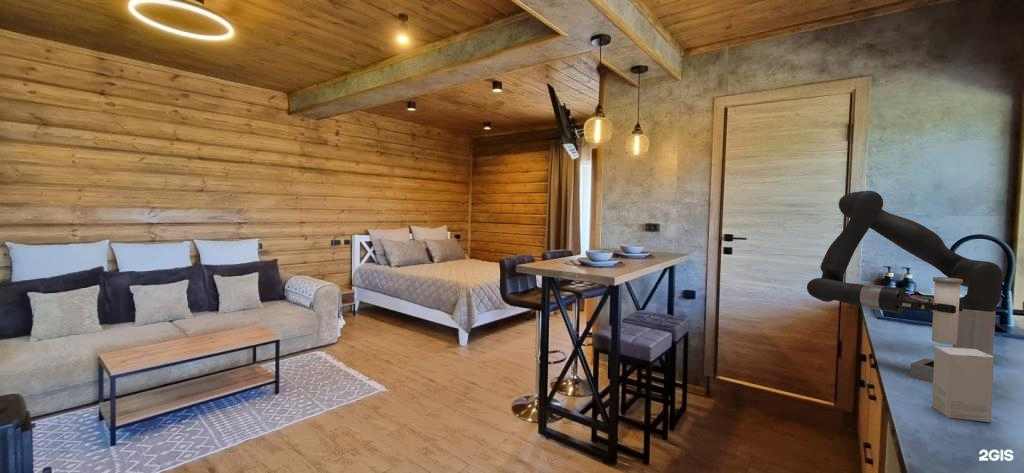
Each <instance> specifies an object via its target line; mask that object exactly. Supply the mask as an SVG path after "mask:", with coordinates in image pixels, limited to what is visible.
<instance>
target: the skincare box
mask: <svg viewBox="0 0 1024 473" xmlns="http://www.w3.org/2000/svg"><path fill="white" fill-rule="evenodd" d="M933 353H934V359H933V360H934V375H933V384H932V401H931V403H932V404H931V407H932V408H933V409H935V410H936V411H938V412H939V413H940V414H941V415H943V416H945V417H946V418H948V419H957V420H965V421H966V420H967V421H976V422H985V423H991V422H992V408H993V385H994V370H995V369H994V367H995V359H996V357H995V356H994V355H993V356H991V355H989V354H986V353H984V352H981V351H979V350H977V349H967V348H952V346H951V347H949V346H937V345H935V346H934V352H933Z"/></svg>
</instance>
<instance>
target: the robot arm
mask: <svg viewBox="0 0 1024 473" xmlns="http://www.w3.org/2000/svg"><path fill="white" fill-rule="evenodd" d="M883 207H884V199H883V196H882V195H881V194H879V193H878V192H877V191H873V190H861V191H860V190H859V191H853V192H849V193H846V194H844V195H843V196H841V197H840V198H839V201H838V209H839V211H840V213H842V215H843V216H845V217H847V219H849V220H848V222H847V224H846V226H845V227H844V229H843V230H842V231H841V232H840V234H839V235H837V237H836V238H835V239H834V240H833V242H831V244H830V246H828V249H827V251H826V252H825V255H824V257H823V258H822V261H821V264H820V271H821V272H822V275H821V277H817V278H813V279H810V280H809V281H808V282H807V284H806V291H807V293H808V294H809V295H810V296H811V297H813V298H815V299H817V300H819V301H821V302H825V303H829V302H830V303H831V302H833V301H835V302H836V301H838V302H842V303H843V304H847V305H852V306H857V307H863V308H864V307H865V308H867V309H872V310H878V311H885V312H890V313H897V314H901V313H902V312H903V311H904V310H909V311H910V310H911V311H919V312H920V311H921V312H926V313H930V312H932V313H933V312H936V310H937V311H938V312H945V313H952V314H954V313H956V306H955V305H948V304H940V303H937V305H936V303H935V302H934V297H931V296H929V297H928V296H923V295H918V294H916V295H915V294H912V295H907V294H906V291H905V289H904V288H901V287H895V286H886V285H876V284H861V283H854V282H853V283H852V282H850V283H849V282H844V276H845V273H846V271H847V268H848V266H850V265H849V264H850V262H851V260H852V258H853V255H854V254H855V252H856V250H857V248H858V246H859V244H860V242H861V241H862V240H863V238H864V237H865V235H866V233H867V232H868V230H869V229H871V230H873V231H875V232H876V233H877V234H879V235H880V236H882V237H883V238H885V239H887V240H888V241H890V242H892V243H893V244H894V245H896V246H898V247H899V248H901V249H902V250H904V251H905V252H907V253H909V254H911V255H913V256H914V257H916V258H918V259H920V260H921V261H923V262H924V263H927V264H929V265H931V266H932V267H933V268H935V269H936V270H938V271H939V272H941V273H942V274H944V275H945V277H946V278H956V279H962V280H963V283H962V284H960V286H962V287H965V288H967V291H966V294H965V295H964V296H961V297H960V299H959V316H958V334H957V344H956V345H951V348H967V349H977V350H979V351H981V352H984V353H986V354H989V355H991V356H993V357H994V345H995V344H994V343H995V333H996V328H995V327H996V316H997V315H996V312H997V306H998V304H999V303H1000V301H1001V296H1002V290H1003V284H1004V274H1003V270H1002V268H1001V267H1000V266H999V265H998V264H997V263H995V262H991V261H986V260H985V261H984V260H975V259H970V258H967V257H964V256H962V255H960V254H958V253H956V252H955V251H953V250H951V249H950V248H948V247H947V246H946V244H945V242H944V240H943V239H942V238H941V236H940V235H938V234H937V233H936V232H934V231H933V230H931V229H929V228H927V227H926V226H925V225H923V224H921V223H919V222H916V221H914V220H911V219H909V218H907V217H902V216H899V215H897V214H893V213H891V212H888V211H886V210H884V209H883Z"/></svg>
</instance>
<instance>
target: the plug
mask: <svg viewBox="0 0 1024 473" xmlns="http://www.w3.org/2000/svg"><path fill="white" fill-rule="evenodd" d="M932 282H934V289H933V290H934V291H933V298H934V302H935V303H936V305H937V303H940V304H948V305H955V306H956V313H954V314H952V313H945V312H938V311H937V310H936V312H932V328H931V329H932V330H931V341H932V342H933V343H934V342H935V343H938V344H943V345H949V346H950V345H951V346H952V345H956V344H957V334H958V316H959V299H960V296H961V285H960V284H962V283H963V280H962V279H956V278H948V277H947V276H945V277H944V276H943V277H942V276H941V277H938V276H934V277H932Z"/></svg>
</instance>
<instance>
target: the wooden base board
mask: <svg viewBox="0 0 1024 473" xmlns="http://www.w3.org/2000/svg"><path fill="white" fill-rule="evenodd" d="M933 375H934V359H931V358H926V357H924V358H922V359H920V360H917V361H914V362H912V363H910V374H909V376H908V378H909V379H913V380H916V381H921V382H924V383H928V384H932V385H933Z"/></svg>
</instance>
